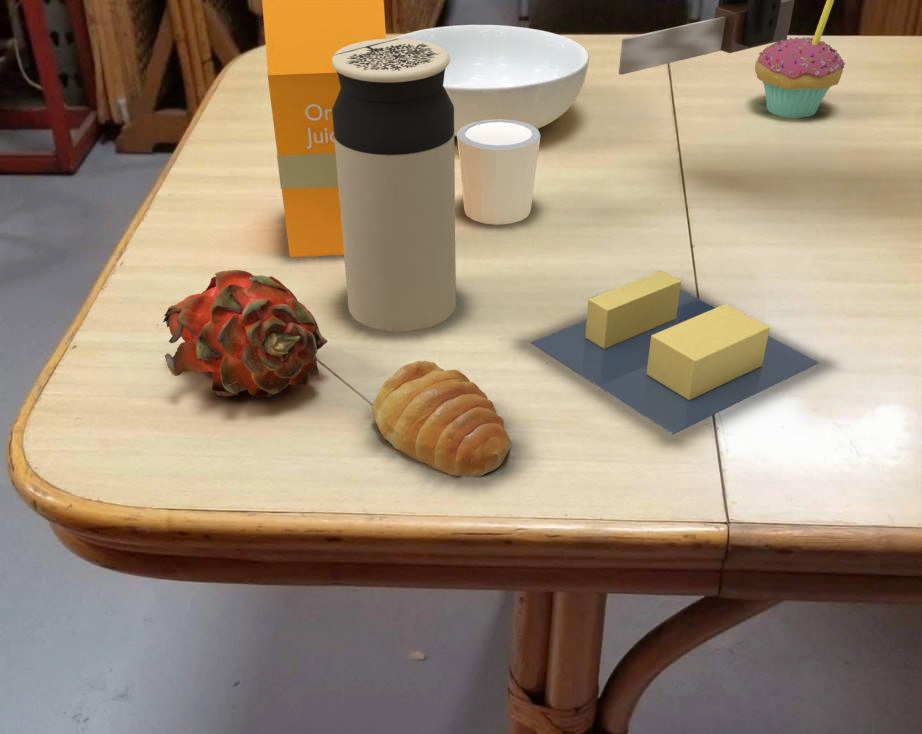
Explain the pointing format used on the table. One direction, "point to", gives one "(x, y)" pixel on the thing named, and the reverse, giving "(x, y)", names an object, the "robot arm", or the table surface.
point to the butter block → (707, 351)
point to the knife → (696, 38)
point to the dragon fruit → (245, 335)
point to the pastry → (441, 420)
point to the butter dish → (630, 384)
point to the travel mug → (396, 182)
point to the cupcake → (799, 72)
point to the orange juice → (311, 109)
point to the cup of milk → (498, 169)
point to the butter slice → (632, 309)
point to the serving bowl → (508, 72)
